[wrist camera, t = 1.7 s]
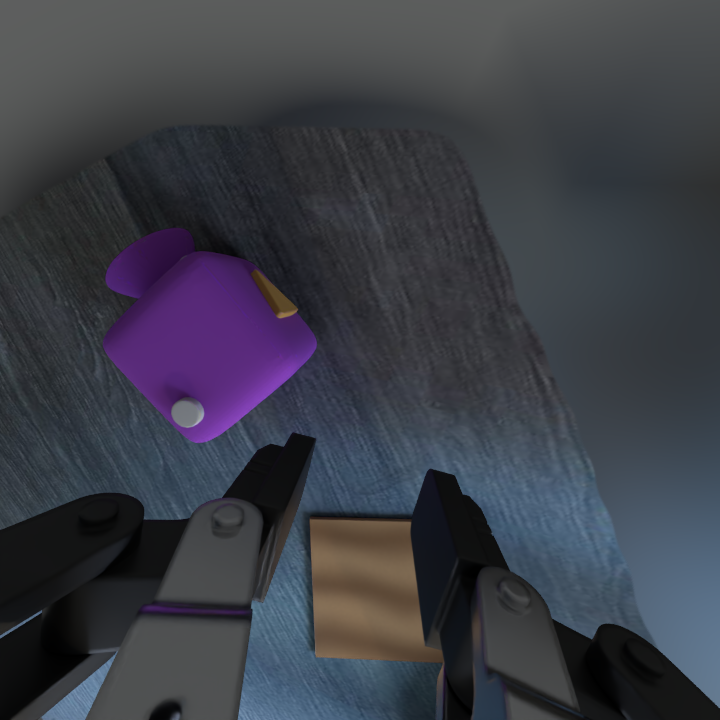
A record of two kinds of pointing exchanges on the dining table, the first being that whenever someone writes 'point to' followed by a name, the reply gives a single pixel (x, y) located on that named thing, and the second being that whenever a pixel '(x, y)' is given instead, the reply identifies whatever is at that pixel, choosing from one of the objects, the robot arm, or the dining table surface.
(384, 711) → the dining table surface
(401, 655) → the square metal plate
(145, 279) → the toy camera
